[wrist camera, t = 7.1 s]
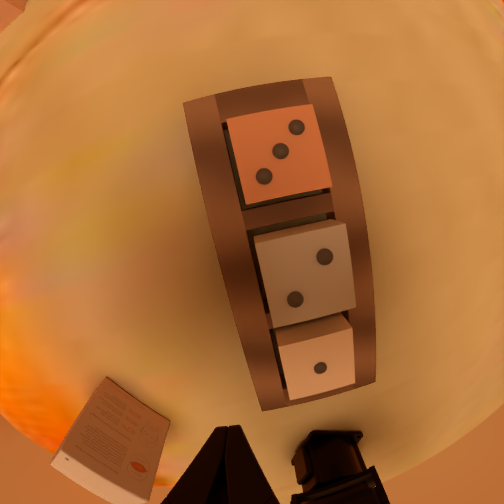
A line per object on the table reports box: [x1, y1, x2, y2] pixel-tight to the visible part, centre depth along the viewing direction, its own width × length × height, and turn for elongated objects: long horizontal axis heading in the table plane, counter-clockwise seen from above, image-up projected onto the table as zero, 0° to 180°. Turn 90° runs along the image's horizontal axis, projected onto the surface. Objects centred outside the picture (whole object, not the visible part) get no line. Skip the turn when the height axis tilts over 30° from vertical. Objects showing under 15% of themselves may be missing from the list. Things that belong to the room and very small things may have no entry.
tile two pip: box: [254, 219, 356, 328], centre depth 16 cm, size 5×5×3 cm
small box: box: [50, 378, 170, 504], centre depth 18 cm, size 8×6×10 cm
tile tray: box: [183, 77, 376, 411], centre depth 19 cm, size 24×10×2 cm, turn 13°
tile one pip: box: [275, 312, 355, 400], centre depth 19 cm, size 5×5×3 cm
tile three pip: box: [226, 104, 333, 205], centre depth 16 cm, size 5×5×3 cm
